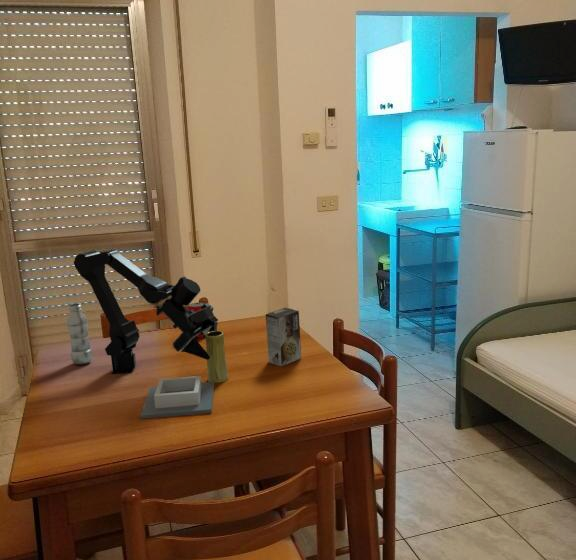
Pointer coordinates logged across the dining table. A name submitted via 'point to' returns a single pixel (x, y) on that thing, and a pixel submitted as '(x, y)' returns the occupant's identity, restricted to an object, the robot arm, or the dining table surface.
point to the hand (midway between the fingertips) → (216, 353)
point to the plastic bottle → (78, 335)
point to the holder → (179, 398)
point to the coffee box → (283, 336)
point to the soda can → (196, 308)
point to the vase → (216, 357)
